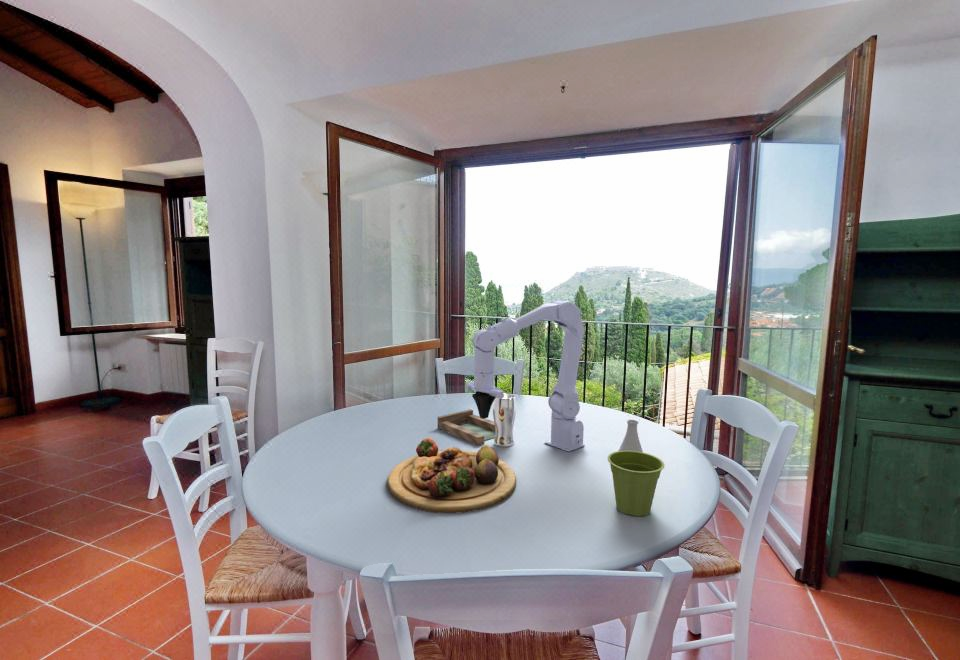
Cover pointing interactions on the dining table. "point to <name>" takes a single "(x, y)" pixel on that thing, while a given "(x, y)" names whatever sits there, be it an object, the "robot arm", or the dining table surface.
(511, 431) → the beer glass
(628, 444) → the flask
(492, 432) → the cradle
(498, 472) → the wooden plate with food
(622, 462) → the plant pot
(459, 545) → the dining table surface
